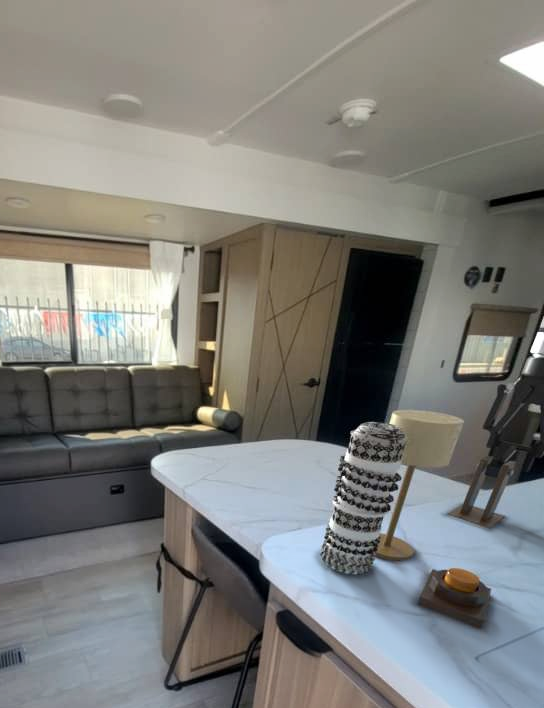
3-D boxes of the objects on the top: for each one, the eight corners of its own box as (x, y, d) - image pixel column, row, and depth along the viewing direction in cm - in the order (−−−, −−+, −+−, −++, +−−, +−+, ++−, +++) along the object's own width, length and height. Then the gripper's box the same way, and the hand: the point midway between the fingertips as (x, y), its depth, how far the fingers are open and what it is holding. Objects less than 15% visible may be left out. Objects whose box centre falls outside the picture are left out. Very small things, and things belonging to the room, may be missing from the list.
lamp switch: (498, 447, 92) (501, 437, 90) (531, 453, 87) (535, 444, 86) (473, 472, 87) (476, 462, 86) (507, 480, 83) (511, 471, 81)
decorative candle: (307, 552, 75) (336, 418, 64) (355, 551, 76) (391, 418, 65) (330, 581, 67) (368, 433, 56) (383, 580, 68) (430, 433, 57)
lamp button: (446, 574, 64) (449, 564, 63) (476, 584, 61) (481, 574, 61) (441, 585, 61) (445, 575, 60) (473, 596, 59) (478, 586, 58)
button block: (428, 579, 68) (435, 559, 67) (486, 600, 64) (495, 579, 62) (415, 607, 62) (423, 586, 60) (478, 633, 57) (489, 610, 55)
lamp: (407, 543, 80) (451, 412, 68) (421, 570, 71) (474, 426, 60) (352, 534, 82) (387, 407, 71) (359, 560, 73) (399, 420, 62)
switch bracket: (462, 507, 96) (484, 451, 90) (502, 520, 90) (529, 461, 84) (445, 518, 90) (467, 459, 84) (487, 532, 84) (514, 470, 78)
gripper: (489, 353, 85) (452, 458, 95) (616, 361, 72) (557, 483, 82) (501, 352, 89) (464, 452, 99) (624, 360, 76) (567, 475, 86)
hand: (506, 466), depth 91 cm, fingers closed on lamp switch, 6 cm apart
